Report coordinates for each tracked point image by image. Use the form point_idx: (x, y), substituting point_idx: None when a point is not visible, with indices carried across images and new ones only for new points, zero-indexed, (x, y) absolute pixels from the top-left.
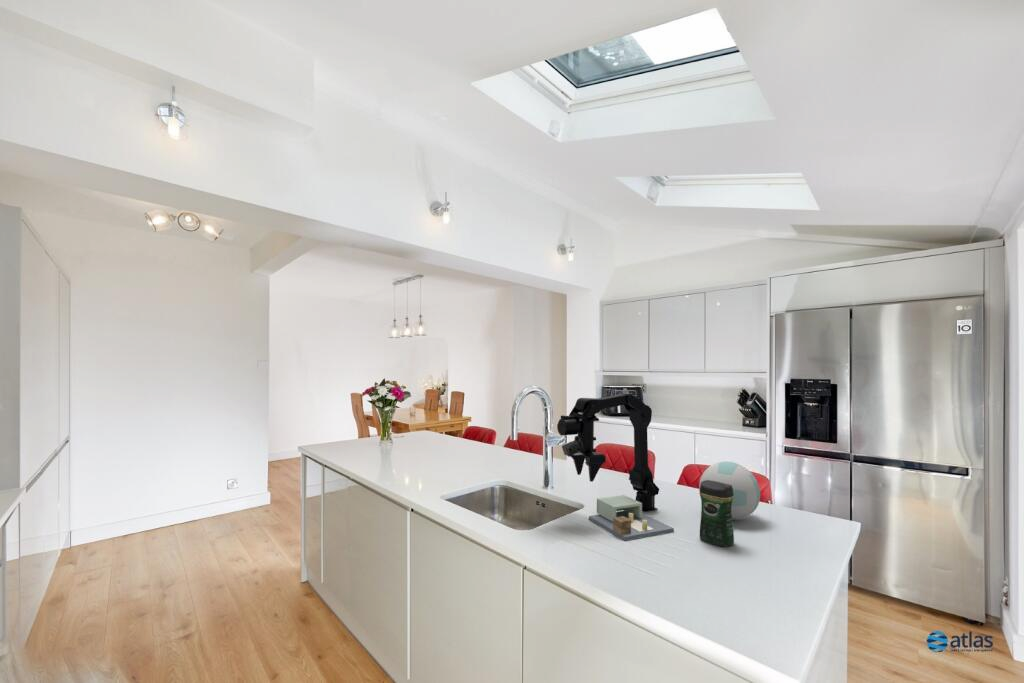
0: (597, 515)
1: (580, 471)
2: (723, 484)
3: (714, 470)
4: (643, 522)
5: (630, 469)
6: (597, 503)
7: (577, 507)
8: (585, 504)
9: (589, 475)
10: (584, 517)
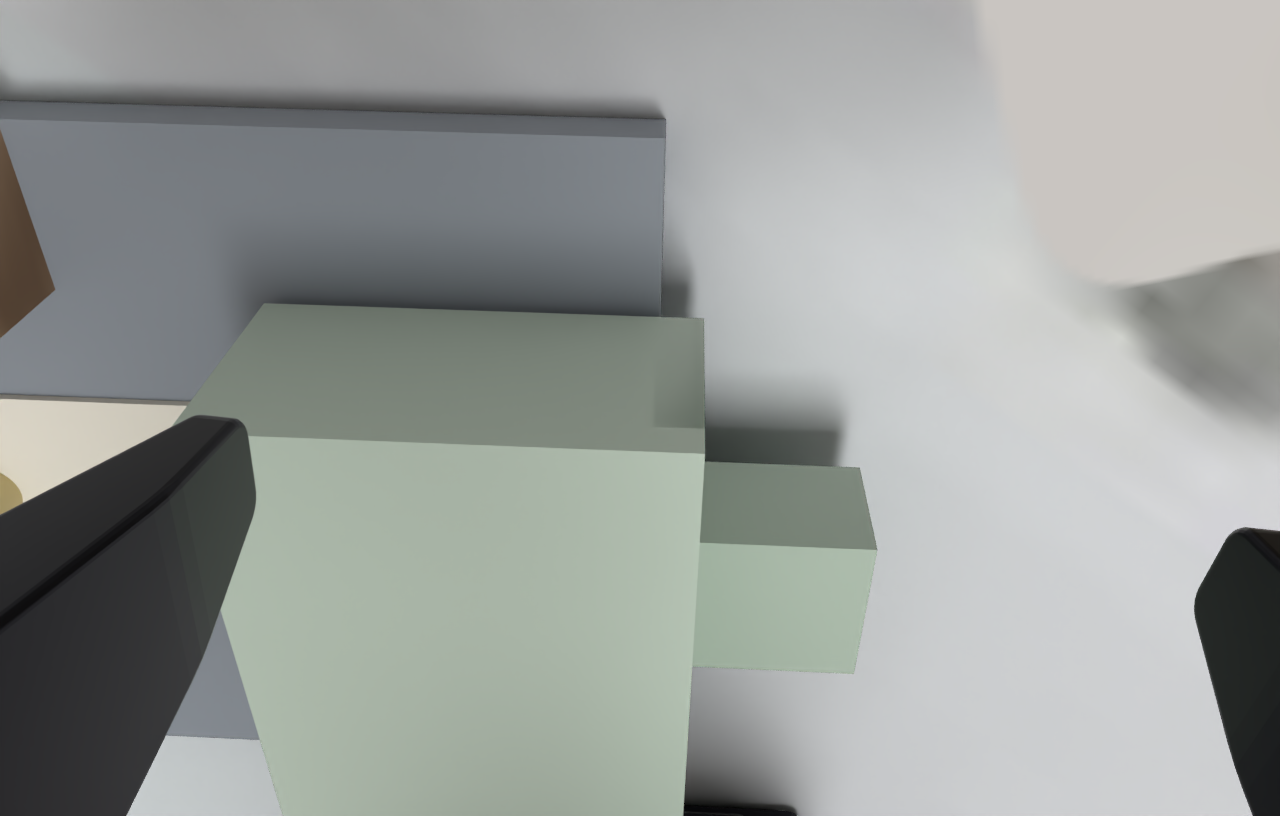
0: (634, 280)
1: (1241, 698)
2: None
3: None
4: None
5: None
6: (679, 402)
7: (1210, 277)
8: (1224, 451)
9: (60, 532)
10: (777, 112)
